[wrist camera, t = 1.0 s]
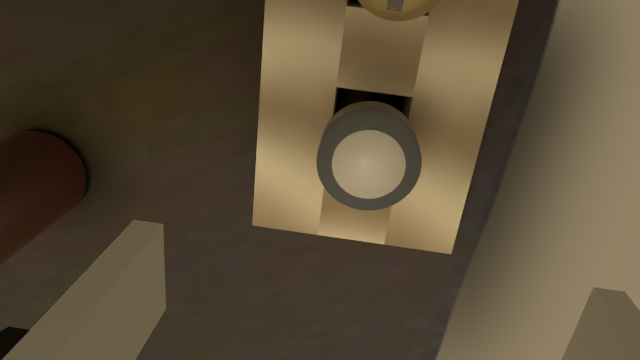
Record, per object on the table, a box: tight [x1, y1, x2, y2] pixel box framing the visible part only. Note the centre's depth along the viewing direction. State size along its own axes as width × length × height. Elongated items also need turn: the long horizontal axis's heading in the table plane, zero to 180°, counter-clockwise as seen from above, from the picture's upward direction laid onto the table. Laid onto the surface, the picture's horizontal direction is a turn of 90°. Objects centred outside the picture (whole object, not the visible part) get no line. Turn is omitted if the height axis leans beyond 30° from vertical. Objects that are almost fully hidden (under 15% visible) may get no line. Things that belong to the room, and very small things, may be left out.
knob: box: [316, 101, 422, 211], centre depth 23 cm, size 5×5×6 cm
